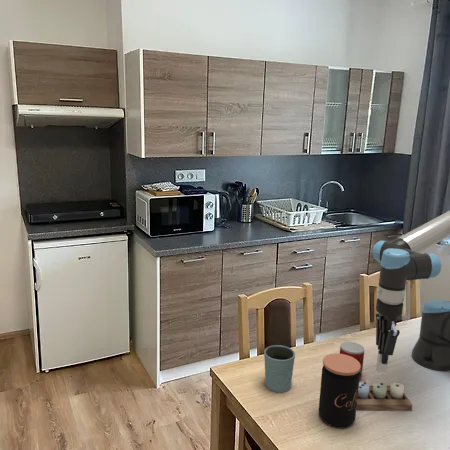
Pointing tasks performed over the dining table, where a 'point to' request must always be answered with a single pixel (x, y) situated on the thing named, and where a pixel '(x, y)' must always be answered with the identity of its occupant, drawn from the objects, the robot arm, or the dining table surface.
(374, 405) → the button board
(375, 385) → the two-pip button
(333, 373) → the coffee jar
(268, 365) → the teal cup
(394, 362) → the dining table surface
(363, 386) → the three-pip button
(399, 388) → the one-pip button
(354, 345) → the canned food
